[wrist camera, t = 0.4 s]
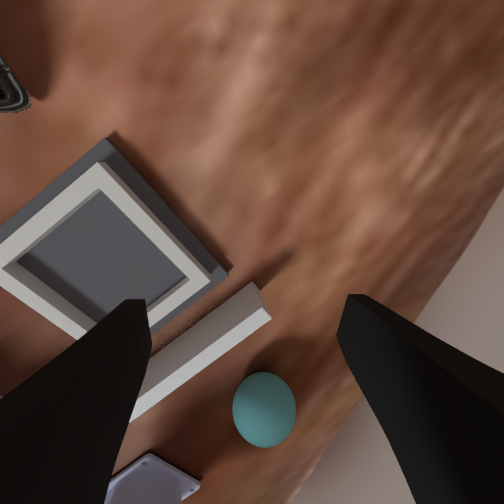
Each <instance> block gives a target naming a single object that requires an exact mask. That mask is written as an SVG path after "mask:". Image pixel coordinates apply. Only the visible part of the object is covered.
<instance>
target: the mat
mask: <svg viewBox="0 0 504 504" xmlns="http://www.w3.org/2000/svg"><path fill="white" fill-rule="evenodd" d="M228 276H229V274H228V272H227V271H226V269H225V268H224V267H223V266H222V265H221V264H220V263H219V262H218V260H217V259H216V258H215V257H214V256H213V255H212V254H211V253H210V252H209V250H208V249H207V248H206V247H205V246H204V245H203V244H202V243H201V241H200V240H199V239H198V238H197V237H196V236H195V235H194V234H193V233H192V231H191V230H190V229H189V228H188V227H187V226H186V225H185V224H184V222H183V221H182V220H181V219H180V218H179V217H178V216H177V215H176V214H175V212H174V211H173V210H172V209H171V208H170V207H169V206H168V205H167V203H166V202H165V201H164V200H163V199H162V198H161V197H160V196H159V195H158V193H157V192H156V191H155V190H154V189H153V188H152V187H151V186H150V184H149V183H148V182H147V181H146V180H145V179H144V178H143V177H142V176H141V174H140V173H139V172H138V171H137V170H136V169H135V168H134V167H133V165H132V164H131V163H130V162H129V161H128V160H127V159H126V158H125V157H124V155H123V154H122V153H121V152H120V151H119V150H118V149H117V148H116V146H115V145H114V144H113V143H112V142H111V141H110V140H109V139H108V138H104V139H103V140H101V141H100V142H99V143H98V144H97V145H96V146H94V147H93V148H92V149H91V150H90V151H89V152H87V153H86V154H85V155H84V156H83V157H82V158H80V159H79V160H78V161H77V162H76V163H75V164H73V165H72V166H71V167H70V168H69V169H67V170H66V171H65V172H64V173H63V174H62V175H60V176H59V177H58V178H57V179H56V180H55V181H53V182H52V183H51V184H50V185H49V186H48V187H46V188H45V189H44V190H43V191H42V192H41V193H39V194H38V195H37V196H36V197H35V198H34V199H32V200H31V201H30V202H29V203H28V204H27V205H25V206H24V207H23V208H22V209H21V210H20V211H18V212H17V213H16V214H15V215H14V216H13V217H11V218H10V219H9V220H8V221H7V222H6V223H4V224H3V225H2V226H1V227H0V286H1V287H3V288H4V289H6V290H7V291H8V292H10V293H11V294H13V295H14V296H15V297H17V298H18V299H20V300H21V301H23V302H24V303H25V304H27V305H28V306H30V307H31V308H32V309H34V310H35V311H37V312H38V313H40V314H41V315H42V316H44V317H45V318H47V319H48V320H49V321H51V322H52V323H54V324H55V325H57V326H58V327H59V328H61V329H62V330H64V331H65V332H67V333H68V334H69V335H71V336H72V337H74V338H75V339H76V340H78V339H79V338H81V337H82V336H83V335H84V334H85V333H86V332H88V331H89V330H90V329H91V328H92V327H94V326H95V325H96V324H97V323H98V322H99V321H101V320H102V319H103V318H104V317H105V316H106V315H108V314H109V313H110V312H111V311H112V310H113V309H114V308H116V307H117V306H118V305H119V304H120V303H122V302H123V301H124V300H125V299H145V302H146V308H147V315H148V321H149V327H150V334H151V335H152V334H153V333H154V332H155V331H157V330H158V329H159V328H161V327H162V326H163V325H165V324H166V323H167V322H169V321H170V320H171V319H172V318H174V317H175V316H176V315H178V314H179V313H180V312H182V311H183V310H184V309H186V308H187V307H188V306H190V305H191V304H192V303H193V302H195V301H196V300H197V299H199V298H200V297H201V296H203V295H204V294H205V293H207V292H208V291H209V290H211V289H212V288H213V287H214V286H216V285H217V284H218V283H220V282H221V281H222V280H224V279H225V278H226V277H228Z"/></svg>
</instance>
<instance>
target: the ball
mask: <svg viewBox="0 0 504 504" xmlns="http://www.w3.org/2000/svg"><path fill="white" fill-rule="evenodd" d="M232 411H233V419H234V422H235V425H236V427H237V429H238V431H239V433H240V434H241V435H242V437H243V438H244V439H245V440H246V441H248V442H249V443H251V444H252V445H255V446H258V447H264V448H267V447H273V446H275V445H278V444H279V443H281V442H282V441H283V440H285V439H286V437H287V436H288V435H289V433H290V432H291V430H292V428H293V425H294V422H295V417H296V405H295V400H294V396H293V394H292V391H291V390H290V388H289V386H288V385H287V384H286V383H285V381H284V380H282V379H281V378H280V377H278V376H277V375H275V374H272V373H268V372H258V373H255V374H252V375H250V376H248V377H247V378H246V379H245V380H244V381H243V382H242V383H241V384H240V385H239V387H238V388H237V391H236V393H235V396H234V399H233V407H232Z"/></svg>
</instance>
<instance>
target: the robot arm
mask: <svg viewBox="0 0 504 504" xmlns="http://www.w3.org/2000/svg"><path fill="white" fill-rule="evenodd" d="M336 337H337V339H338V342H339V345H340V347H341V350H342V353H343V355H344V357H345V360H346V362H347V364H348V366H349V368H350V370H351V372H352V374H353V375H354V377H355V379H356V381H357V383H358V385H359V386H360V388H361V390H362V392H363V394H364V396H365V397H366V399H367V401H368V403H369V405H370V406H371V408H372V410H373V412H374V414H375V416H376V417H377V419H378V421H379V423H380V425H381V427H382V428H383V431H384V433H385V435H386V436H387V438H388V440H389V442H390V445H391V447H392V449H393V451H394V454H395V456H396V458H397V460H398V462H399V465H400V467H401V469H402V472H403V474H404V476H405V478H406V481H407V483H408V486H409V488H410V490H411V493H412V495H413V498H414V500H415V502H416V504H504V373H501V372H500V371H498V370H495V369H494V368H492V367H489V366H487V365H486V364H484V363H482V362H480V361H478V360H476V359H474V358H472V357H470V356H469V355H467V354H465V353H463V352H461V351H459V350H458V349H456V348H454V347H452V346H451V345H449V344H447V343H445V342H444V341H442V340H440V339H438V338H436V337H435V336H433V335H432V334H430V333H428V332H426V331H425V330H423V329H421V328H420V327H418V326H417V325H415V324H413V323H412V322H410V321H408V320H407V319H405V318H403V317H402V316H400V315H398V314H397V313H395V312H394V311H392V310H390V309H389V308H387V307H385V306H384V305H382V304H380V303H379V302H377V301H375V300H373V299H372V298H370V297H368V296H366V295H364V294H348V296H347V300H346V303H345V307H344V310H343V314H342V317H341V321H340V324H339V327H338V331H337V334H336ZM151 347H152V340H151V334H150V327H149V321H148V315H147V308H146V302H145V299H125V300H124V301H123V302H122V303H120V304H119V305H118V306H117V307H116V308H114V309H113V310H112V311H111V312H110V313H109V314H108V315H106V316H105V317H104V318H103V319H102V320H101V321H99V322H98V323H97V324H96V325H95V326H94V327H92V328H91V329H90V330H89V331H88V332H86V333H85V334H84V335H83V336H82V337H81V338H79V339H78V340H77V341H76V342H75V343H73V344H72V345H71V346H70V347H69V348H67V349H66V350H65V351H63V352H62V353H61V354H60V355H58V356H57V357H56V358H54V359H53V360H52V361H51V362H49V363H48V364H47V365H45V366H44V367H43V368H42V369H40V370H39V371H38V372H36V373H35V374H34V375H33V376H31V377H30V378H29V379H27V380H26V381H25V382H23V383H22V384H21V385H19V386H18V387H16V388H15V389H14V390H12V391H11V392H9V393H8V394H7V395H5V396H4V397H3V398H1V399H0V504H181V503H182V500H183V499H185V498H186V497H188V496H189V495H191V494H192V493H194V492H195V491H196V490H198V489H199V488H200V482H199V481H198V480H196V479H194V478H192V477H191V476H189V475H187V474H186V473H184V472H182V471H180V470H179V469H177V468H175V467H174V466H172V465H170V464H168V463H167V462H165V461H163V460H162V459H160V458H158V457H156V456H155V455H153V454H150V453H148V454H146V455H144V456H143V457H141V458H140V459H139V460H137V461H136V462H134V463H133V464H132V465H130V466H129V467H127V468H126V469H125V470H123V471H122V472H120V473H119V474H118V475H116V476H115V477H113V478H112V479H111V475H112V472H113V469H114V465H115V462H116V459H117V456H118V453H119V450H120V447H121V444H122V441H123V438H124V435H125V432H126V430H127V427H128V424H129V421H130V418H131V415H132V412H133V409H134V407H135V404H136V401H137V398H138V395H139V392H140V389H141V386H142V383H143V380H144V377H145V374H146V370H147V366H148V361H149V357H150V352H151ZM110 479H111V480H110Z"/></svg>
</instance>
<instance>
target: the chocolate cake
mask: <svg viewBox="0 0 504 504" xmlns="http://www.w3.org/2000/svg"><path fill="white" fill-rule="evenodd" d="M30 97H31V96H30V95H29V93H28V92H27V90H26V89H25V88H24V87H22V85H21V84H20V83H19V81H18V80H17V79H16V77H15V75H14V74H13V72H12V70H11V69H10V68H9V66H8V65H7V64H6V63H5V61H4V60H3V58H2V57H1V55H0V112H5V113H7V112H10V113H18V111H23V110H24V109H26V110H27V108H30V107H29V106H31V105H32V104H31V105H30V101H31V99H29V98H30Z"/></svg>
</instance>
